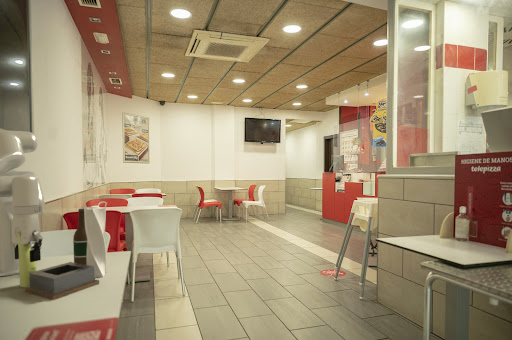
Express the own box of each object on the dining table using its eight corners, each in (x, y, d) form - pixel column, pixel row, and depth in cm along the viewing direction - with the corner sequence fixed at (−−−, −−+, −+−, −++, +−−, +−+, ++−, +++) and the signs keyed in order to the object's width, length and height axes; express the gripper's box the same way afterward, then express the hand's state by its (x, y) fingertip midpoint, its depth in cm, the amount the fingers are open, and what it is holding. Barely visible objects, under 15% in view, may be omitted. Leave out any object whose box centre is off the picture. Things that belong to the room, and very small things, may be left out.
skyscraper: (110, 271, 131) (108, 200, 130) (106, 277, 123) (104, 202, 123) (88, 273, 129) (86, 201, 128) (83, 279, 121) (81, 203, 121)
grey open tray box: (24, 292, 110) (24, 273, 110) (71, 277, 124) (71, 260, 124) (53, 300, 102) (52, 280, 102) (99, 283, 117) (98, 266, 116)
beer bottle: (75, 264, 142) (73, 208, 141) (95, 262, 145) (93, 207, 145) (73, 269, 134) (71, 210, 134) (94, 266, 138) (92, 208, 137)
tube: (37, 286, 116) (35, 230, 115) (19, 289, 113) (17, 232, 113) (37, 281, 120) (35, 228, 120) (19, 284, 117) (18, 229, 117)
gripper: (1, 211, 117) (2, 260, 117) (27, 213, 109) (29, 265, 109) (24, 209, 124) (25, 255, 124) (51, 210, 115) (52, 259, 115)
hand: (27, 259), depth 116 cm, fingers open, 9 cm apart
